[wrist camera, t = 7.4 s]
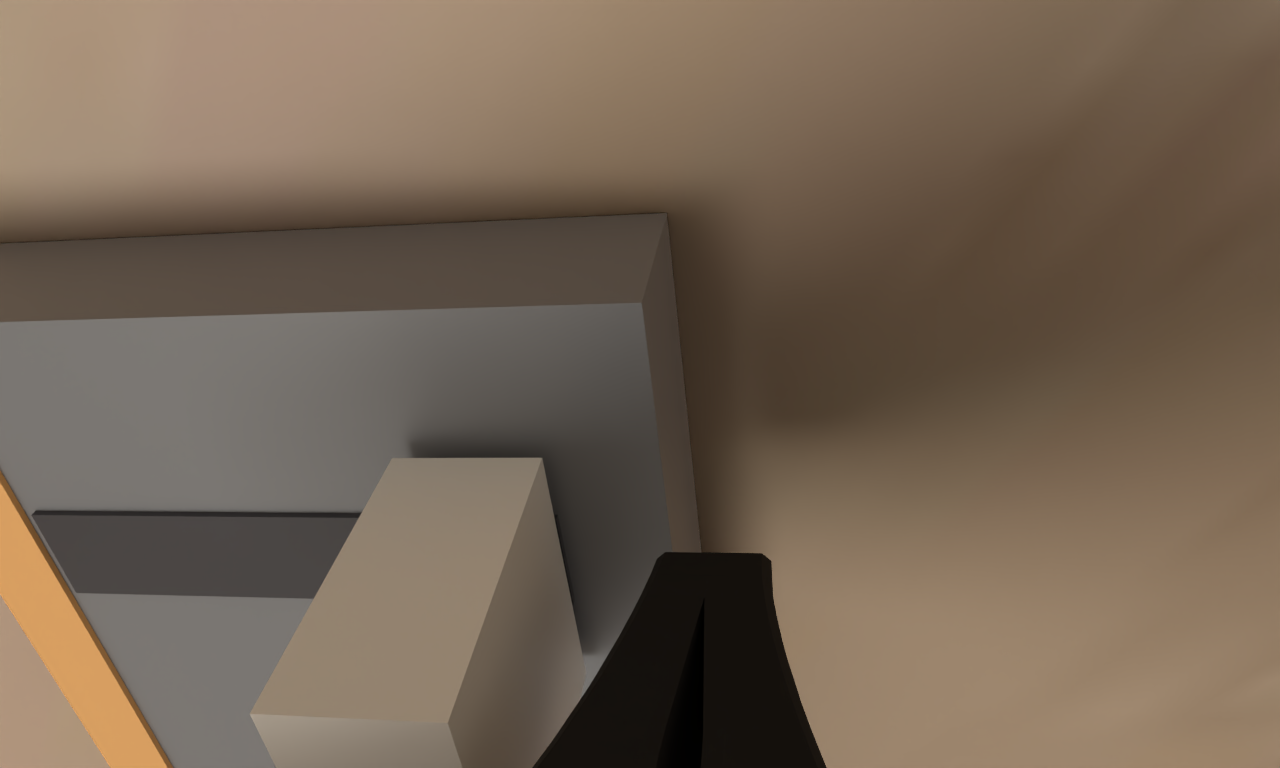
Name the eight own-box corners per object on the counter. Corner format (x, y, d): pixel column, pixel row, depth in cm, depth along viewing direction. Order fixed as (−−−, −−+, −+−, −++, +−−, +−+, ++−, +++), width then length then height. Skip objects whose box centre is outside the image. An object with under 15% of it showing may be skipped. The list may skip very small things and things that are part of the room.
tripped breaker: (541, 457, 12) (447, 723, 9) (586, 673, 15) (522, 950, 11) (391, 458, 13) (250, 713, 10) (456, 668, 15) (358, 936, 12)
